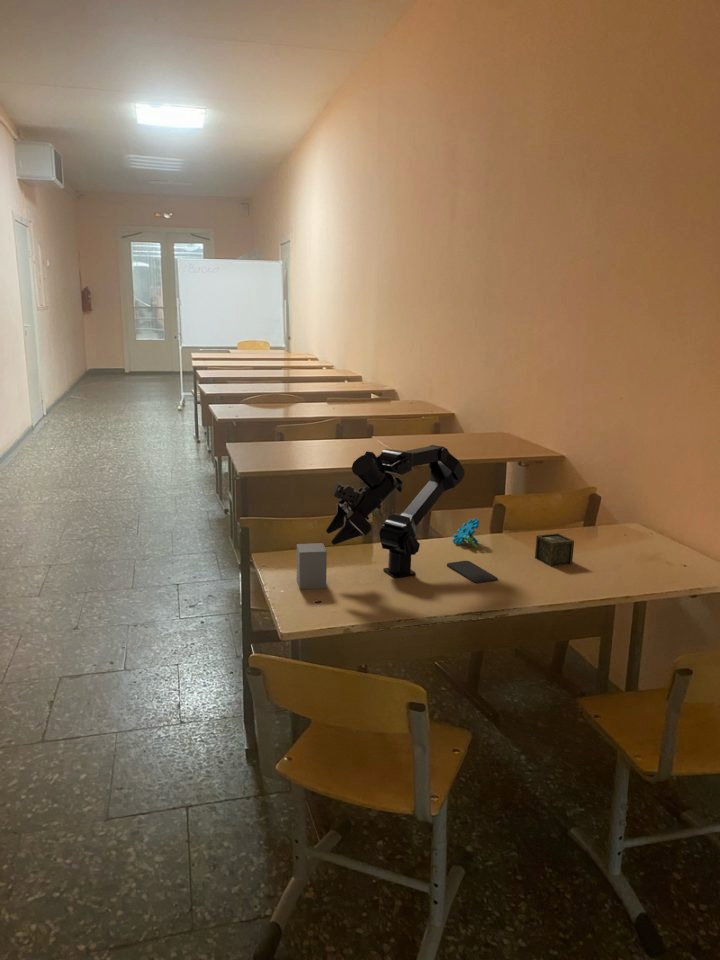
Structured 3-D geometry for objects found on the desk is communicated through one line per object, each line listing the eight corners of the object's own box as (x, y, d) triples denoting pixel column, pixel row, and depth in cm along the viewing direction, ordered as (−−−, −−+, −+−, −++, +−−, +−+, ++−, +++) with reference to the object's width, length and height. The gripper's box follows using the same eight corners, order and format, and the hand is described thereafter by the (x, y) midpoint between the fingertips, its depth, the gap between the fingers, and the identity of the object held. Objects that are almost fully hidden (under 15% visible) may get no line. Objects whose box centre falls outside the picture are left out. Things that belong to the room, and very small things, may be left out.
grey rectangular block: (322, 578, 180) (322, 543, 178) (326, 588, 174) (326, 551, 172) (296, 579, 179) (296, 544, 177) (299, 589, 173) (299, 552, 171)
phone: (475, 582, 179) (444, 563, 193) (475, 585, 180) (444, 566, 193) (499, 578, 182) (468, 560, 196) (499, 581, 183) (468, 562, 196)
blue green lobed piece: (450, 532, 218) (475, 511, 215) (463, 545, 219) (487, 525, 216) (452, 547, 207) (478, 526, 204) (465, 561, 208) (491, 540, 206)
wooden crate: (534, 559, 201) (536, 535, 199) (556, 557, 203) (558, 533, 201) (549, 568, 194) (552, 543, 192) (571, 565, 196) (574, 540, 195)
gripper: (346, 463, 181) (302, 506, 182) (359, 479, 163) (311, 527, 164) (375, 492, 184) (332, 534, 185) (391, 511, 167) (344, 558, 167)
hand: (329, 537), depth 175 cm, fingers open, 9 cm apart
